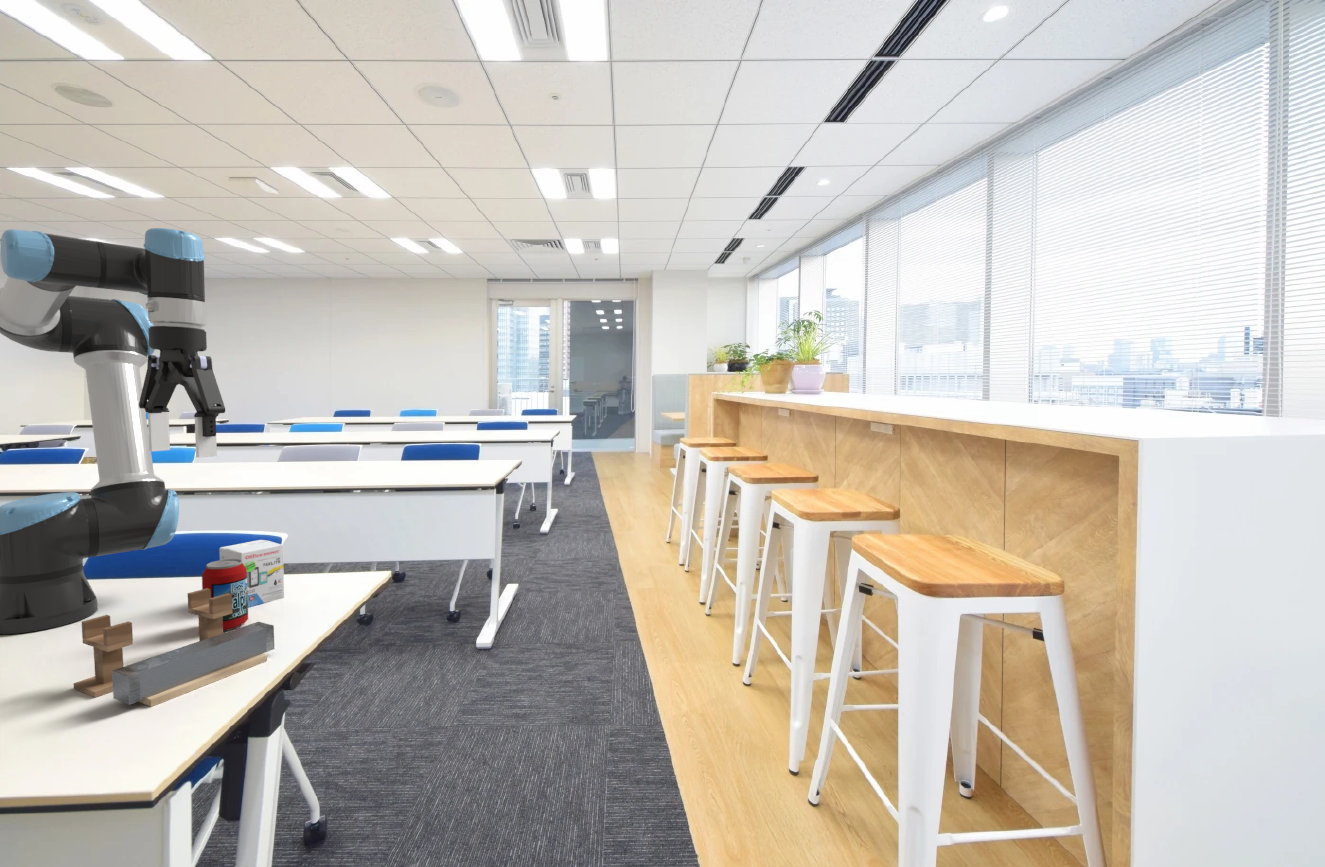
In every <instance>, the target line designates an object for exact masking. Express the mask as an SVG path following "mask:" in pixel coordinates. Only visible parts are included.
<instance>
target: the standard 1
mask: <svg viewBox="0 0 1325 867" xmlns="http://www.w3.org/2000/svg"><path fill="white" fill-rule="evenodd" d="M111 624H112V623H111V615H109V614H105V615H101V616H97V617H94V618H90V619H84V620H83V621H81V634H82V635H81V636H82V644H85V645H87V646H89V647H92V648H93V659H94V660H93V661H94V664H93V666H94V676H92V677H89V678H85V679H82V680H79V681H77V682H76V681H75V682H74V683H73V689H74V690H76V691H79V692H80V693H83V694H86V695H89V696H90V697H93V698H98V697H102V696H103V695H106V694H109V693H113V680H112V670H115V669H118V668H121V667H124V653H123V652H124V651H123V648H125V647H129V646H132V645H134V639H133V637H134V636H133V623H132V622H131V621H125V622H121V623H118V624H115V625H111Z"/></svg>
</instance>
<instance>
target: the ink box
mask: <svg viewBox="0 0 1325 867" xmlns="http://www.w3.org/2000/svg"><path fill="white" fill-rule="evenodd" d="M218 550H219V551H218V552H219V553H218V554H219V560H226V559H239V560H242V563H243V565H244V566H245V567H246V569H247V591H248V608H251V607H255V606H258V605H262V604H266V603H270V602H274V601H277V600H281V599H284V598H285V580H284V578H285V577H284V576H285V575H284V574H285V573H284V545H283V544H281V543H277V542H274V541H271V540H266V539H258V540H252V541H248V542H242V543H237V544H232V545H226V546H221V547H219V549H218Z"/></svg>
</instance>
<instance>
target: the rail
mask: <svg viewBox="0 0 1325 867" xmlns="http://www.w3.org/2000/svg"><path fill="white" fill-rule="evenodd" d="M273 650H275V626H274V625H273V624H269V623H265V622H262V621H256V622H253V623H250V624H247V625H245V626H244V625H243V626H240V627H237V628H234V629H231V630H228V631H227V632H223V634H220V635H217V636H214V637H211V638H208V639H205V640H202V641H199V642H198V641H196V643H195V642H193V644H192V643H190V645H189V644H187V646H186V645H184V647H183V646H181V647H178V648H175V649H172V650H170V651H167V652H164V653H163V652H162V653H161V654H160V653H159V654H158V655H154V656H151V657H149V658H146V659H145V658H144V659H143V660H140V661H136V662H134V663H131V664H128V665H125V666H124V665H123V667H121V668H118V669H115V670H112V680H113V691H112V694H113V695H112V696H113V699H114V700H117V701H118V702H121V703H124V704H127V705H132V704H135V703H137V702H138V701H141V700H143V699H146V698H148V697H151V696H154V695H156V694H159V693H161V692H164V691H167V690H169V689H172V688H174V687H177V686H180V685H182V684H185V683H187V682H190V681H193V680H195V679H198V678H200V677H203V676H206V675H208V674H211V673H213V672H216V671H219V670H221V669H224V668H226V667H229V666H232V665H234V664H237V663H239V662H242V661H245V660H247V659H250V658H252V657H255V656H258V655H260V654H265V653H267V652H270V651H273Z"/></svg>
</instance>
